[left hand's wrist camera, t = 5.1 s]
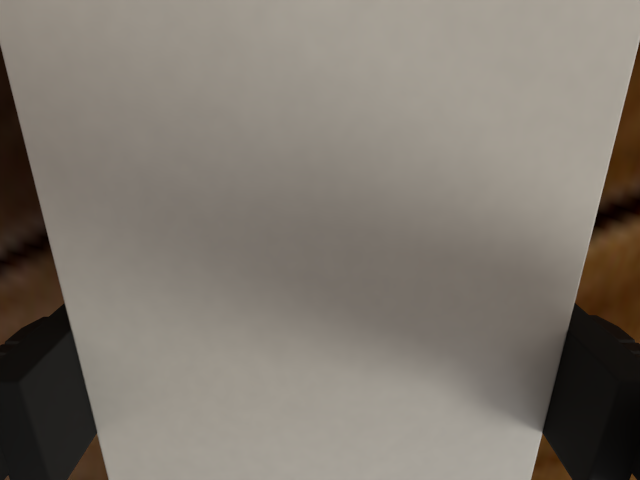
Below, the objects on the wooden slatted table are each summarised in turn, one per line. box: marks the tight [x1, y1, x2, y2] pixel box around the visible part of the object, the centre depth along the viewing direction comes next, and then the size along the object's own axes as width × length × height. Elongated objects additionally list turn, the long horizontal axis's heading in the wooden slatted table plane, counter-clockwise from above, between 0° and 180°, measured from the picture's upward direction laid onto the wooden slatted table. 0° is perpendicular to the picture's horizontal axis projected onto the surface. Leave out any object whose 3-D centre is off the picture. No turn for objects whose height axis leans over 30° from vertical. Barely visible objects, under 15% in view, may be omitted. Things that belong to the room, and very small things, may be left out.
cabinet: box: [0, 0, 640, 480], centre depth 11 cm, size 17×10×9 cm, turn 0°
